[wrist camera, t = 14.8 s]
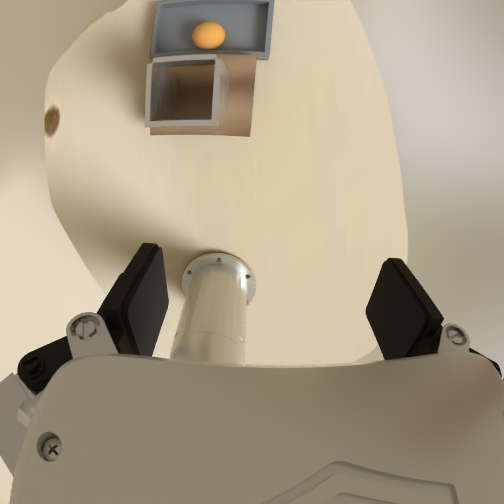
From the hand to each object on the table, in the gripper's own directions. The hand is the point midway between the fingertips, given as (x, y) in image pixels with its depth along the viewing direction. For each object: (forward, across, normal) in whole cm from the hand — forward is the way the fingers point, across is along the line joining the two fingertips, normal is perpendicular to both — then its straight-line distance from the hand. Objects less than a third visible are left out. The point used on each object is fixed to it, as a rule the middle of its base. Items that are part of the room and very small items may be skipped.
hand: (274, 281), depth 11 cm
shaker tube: (+23, +7, -8) cm, 26 cm away
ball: (+26, +7, -16) cm, 31 cm away
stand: (+28, +7, -8) cm, 30 cm away
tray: (+28, +7, -18) cm, 34 cm away
